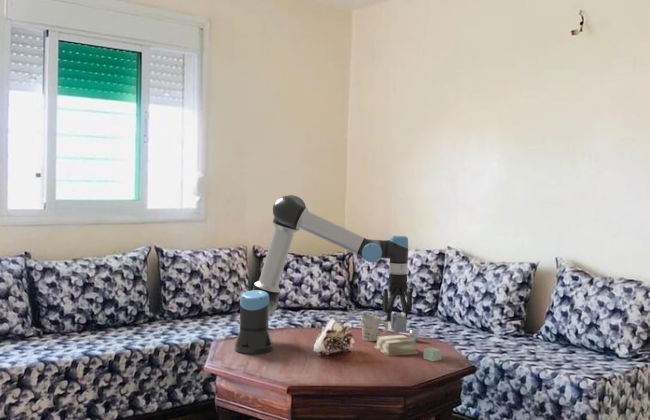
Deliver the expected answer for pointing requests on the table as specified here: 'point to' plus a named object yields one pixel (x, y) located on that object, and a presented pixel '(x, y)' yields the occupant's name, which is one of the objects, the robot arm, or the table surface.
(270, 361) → the table surface
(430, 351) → the sage block
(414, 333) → the grey bushing
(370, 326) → the mug
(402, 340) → the plinth
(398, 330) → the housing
